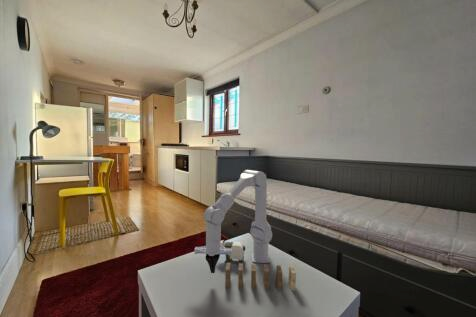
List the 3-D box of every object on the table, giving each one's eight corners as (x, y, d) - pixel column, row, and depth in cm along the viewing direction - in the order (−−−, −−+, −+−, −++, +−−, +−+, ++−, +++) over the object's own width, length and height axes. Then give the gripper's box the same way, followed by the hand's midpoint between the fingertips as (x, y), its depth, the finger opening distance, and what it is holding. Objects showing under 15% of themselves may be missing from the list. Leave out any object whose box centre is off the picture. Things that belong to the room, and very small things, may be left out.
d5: (276, 282, 80) (276, 265, 79) (280, 282, 80) (280, 265, 79) (277, 289, 75) (278, 272, 75) (281, 290, 75) (282, 272, 75)
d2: (238, 280, 80) (239, 263, 80) (242, 280, 80) (243, 263, 80) (238, 287, 76) (238, 270, 76) (242, 287, 76) (242, 270, 76)
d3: (251, 280, 80) (251, 264, 80) (255, 281, 80) (255, 264, 80) (251, 288, 76) (251, 270, 75) (255, 288, 76) (255, 270, 75)
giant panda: (246, 259, 96) (246, 239, 95) (244, 265, 90) (244, 245, 90) (217, 255, 99) (217, 236, 98) (213, 261, 93) (213, 241, 93)
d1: (226, 279, 81) (226, 262, 80) (230, 279, 81) (230, 262, 80) (225, 287, 76) (225, 269, 76) (229, 287, 76) (229, 269, 76)
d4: (263, 281, 80) (263, 264, 80) (267, 281, 80) (267, 264, 80) (264, 289, 76) (264, 271, 75) (268, 289, 76) (269, 271, 75)
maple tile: (288, 282, 79) (289, 265, 79) (292, 282, 79) (293, 265, 79) (291, 290, 75) (291, 272, 75) (295, 290, 75) (295, 272, 75)
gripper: (192, 241, 74) (192, 277, 75) (230, 243, 74) (230, 279, 74) (197, 233, 81) (196, 266, 82) (232, 235, 81) (231, 267, 81)
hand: (212, 271), depth 79 cm, fingers closed
